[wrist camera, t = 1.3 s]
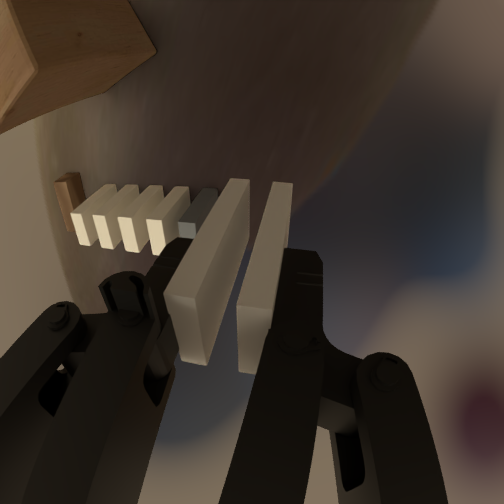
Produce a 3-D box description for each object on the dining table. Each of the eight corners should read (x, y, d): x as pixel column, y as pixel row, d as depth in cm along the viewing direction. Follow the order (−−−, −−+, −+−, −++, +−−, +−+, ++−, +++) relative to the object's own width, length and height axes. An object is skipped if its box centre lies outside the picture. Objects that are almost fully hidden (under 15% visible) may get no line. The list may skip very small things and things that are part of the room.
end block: (79, 172, 41) (66, 182, 38) (91, 221, 46) (80, 232, 44) (66, 173, 42) (53, 182, 39) (79, 220, 47) (67, 230, 44)
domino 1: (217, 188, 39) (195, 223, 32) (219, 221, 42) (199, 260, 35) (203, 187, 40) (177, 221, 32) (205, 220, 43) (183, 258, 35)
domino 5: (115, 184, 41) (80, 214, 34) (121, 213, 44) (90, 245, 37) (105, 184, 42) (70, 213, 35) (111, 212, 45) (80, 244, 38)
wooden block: (159, 52, 29) (35, 70, 13) (103, 94, 33) (-14, 143, 17) (127, -3, 25) (1, -11, 9) (75, 41, 29) (-44, 68, 13)
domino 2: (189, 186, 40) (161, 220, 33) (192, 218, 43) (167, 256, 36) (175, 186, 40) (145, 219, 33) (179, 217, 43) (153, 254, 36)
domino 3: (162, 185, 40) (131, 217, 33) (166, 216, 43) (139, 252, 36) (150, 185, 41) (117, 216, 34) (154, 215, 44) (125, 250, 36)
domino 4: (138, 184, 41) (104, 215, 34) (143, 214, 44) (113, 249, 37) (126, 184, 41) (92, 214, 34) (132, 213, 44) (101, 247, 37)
